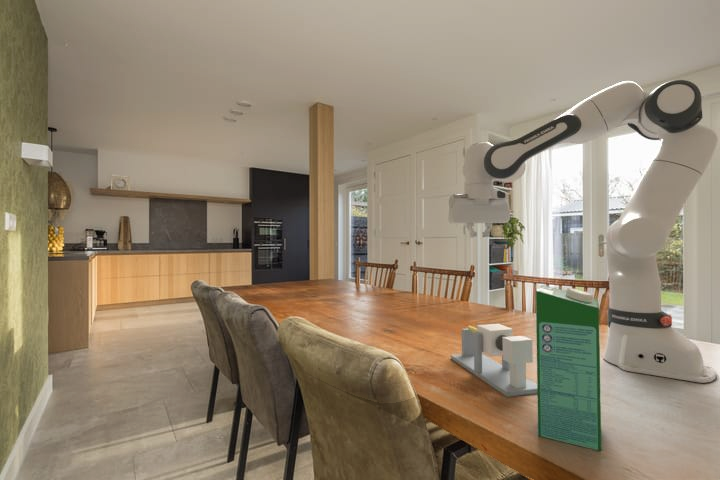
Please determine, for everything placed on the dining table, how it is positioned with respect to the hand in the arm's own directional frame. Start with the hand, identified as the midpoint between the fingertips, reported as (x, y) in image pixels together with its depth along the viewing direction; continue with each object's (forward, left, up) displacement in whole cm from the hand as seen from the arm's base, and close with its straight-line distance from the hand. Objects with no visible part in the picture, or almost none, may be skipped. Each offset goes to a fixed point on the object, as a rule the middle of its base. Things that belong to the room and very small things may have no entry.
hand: (479, 237), depth 117 cm
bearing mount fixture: (-15, +22, -34) cm, 43 cm away
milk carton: (-38, +38, -34) cm, 64 cm away
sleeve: (-16, +23, -28) cm, 40 cm away
